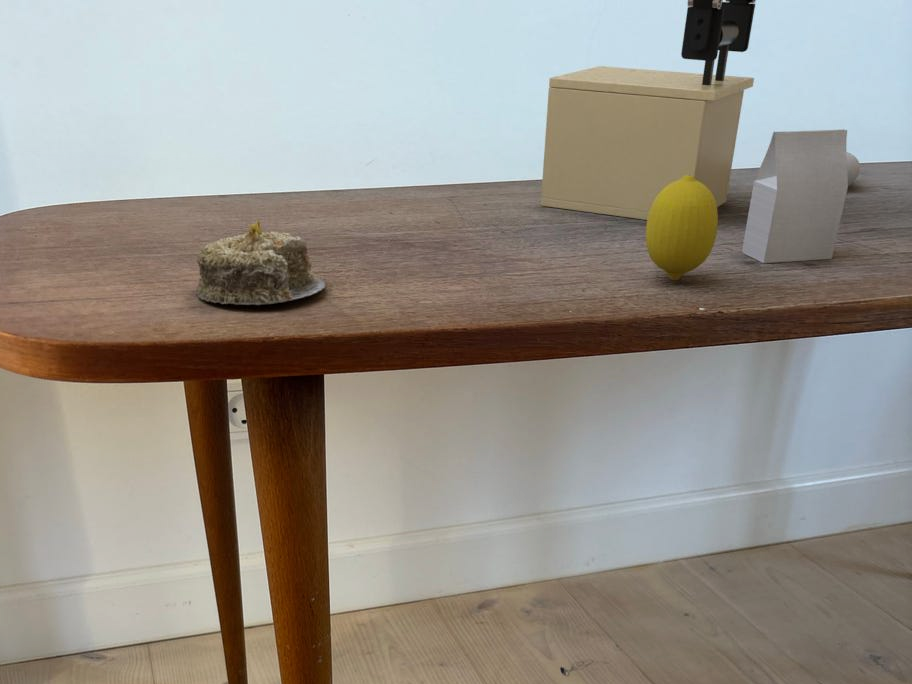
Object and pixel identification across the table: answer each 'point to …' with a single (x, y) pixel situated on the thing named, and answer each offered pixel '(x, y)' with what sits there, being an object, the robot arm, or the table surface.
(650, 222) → the lemon
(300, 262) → the cake
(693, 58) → the robot arm
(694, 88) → the box lid
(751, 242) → the grey upright tapered block
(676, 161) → the tan open box
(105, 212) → the table surface
